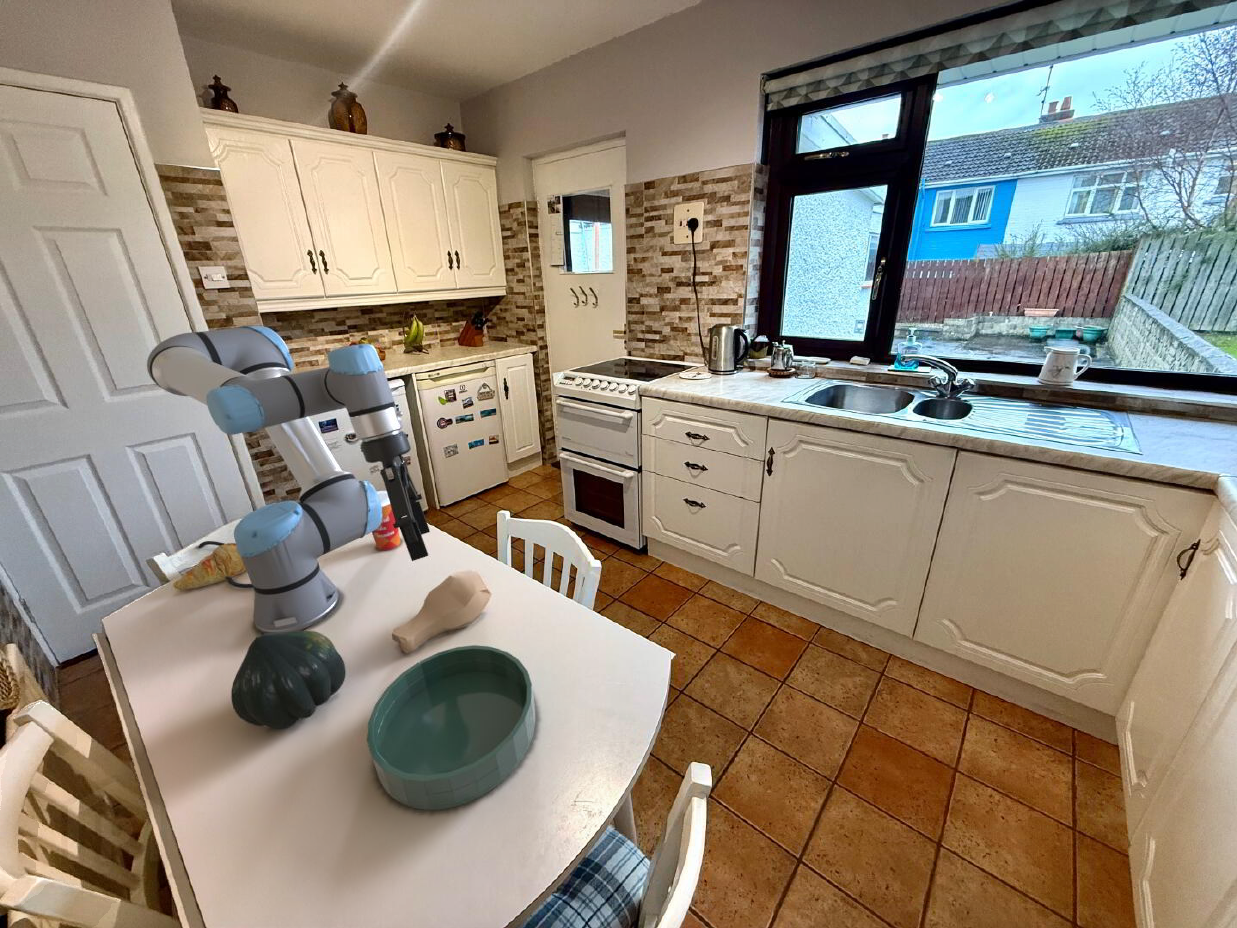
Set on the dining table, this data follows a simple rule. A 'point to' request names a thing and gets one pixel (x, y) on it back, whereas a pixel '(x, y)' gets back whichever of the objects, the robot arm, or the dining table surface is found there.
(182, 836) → the dining table surface
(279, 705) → the squash
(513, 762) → the bowl
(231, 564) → the croissant
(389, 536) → the paper cup
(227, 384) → the robot arm
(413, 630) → the squash
